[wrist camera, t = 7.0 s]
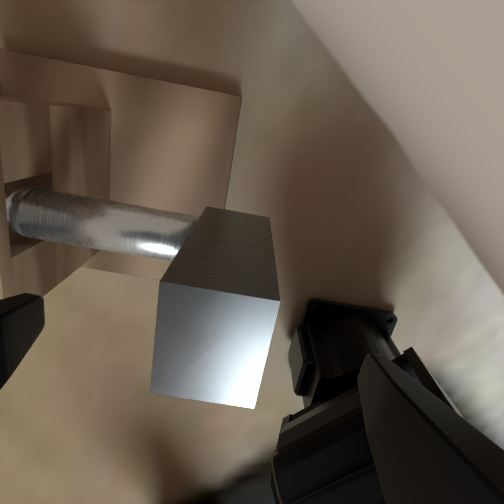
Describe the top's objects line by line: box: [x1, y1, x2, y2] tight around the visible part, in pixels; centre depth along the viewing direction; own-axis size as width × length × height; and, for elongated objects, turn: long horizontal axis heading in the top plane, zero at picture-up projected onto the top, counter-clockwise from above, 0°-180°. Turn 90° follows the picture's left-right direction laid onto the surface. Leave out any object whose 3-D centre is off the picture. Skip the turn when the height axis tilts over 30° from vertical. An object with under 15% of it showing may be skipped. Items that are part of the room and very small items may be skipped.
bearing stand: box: [0, 49, 242, 299], centre depth 16 cm, size 13×12×10 cm
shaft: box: [6, 187, 280, 409], centre depth 10 cm, size 10×3×8 cm, turn 80°
